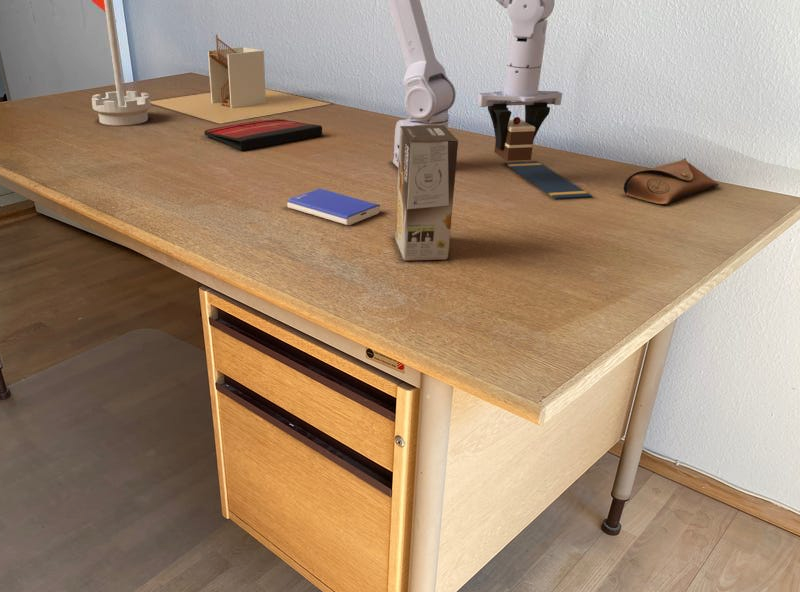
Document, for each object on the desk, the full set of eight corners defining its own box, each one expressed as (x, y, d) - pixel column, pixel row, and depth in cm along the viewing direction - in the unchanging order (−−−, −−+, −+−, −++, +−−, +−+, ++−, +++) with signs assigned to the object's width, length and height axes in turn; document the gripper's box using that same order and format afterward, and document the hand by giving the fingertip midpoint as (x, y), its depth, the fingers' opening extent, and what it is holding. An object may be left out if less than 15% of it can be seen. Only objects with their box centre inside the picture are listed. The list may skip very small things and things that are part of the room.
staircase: (211, 103, 191) (205, 33, 182) (245, 97, 197) (242, 29, 189) (231, 108, 185) (226, 36, 177) (265, 102, 192) (263, 33, 183)
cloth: (555, 199, 124) (555, 197, 124) (504, 164, 142) (505, 162, 142) (591, 197, 125) (591, 195, 125) (536, 162, 144) (536, 160, 143)
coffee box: (449, 260, 100) (460, 140, 92) (403, 261, 100) (409, 141, 92) (436, 236, 108) (445, 123, 100) (392, 237, 108) (398, 124, 100)
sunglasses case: (668, 204, 120) (657, 164, 120) (630, 216, 126) (619, 178, 125) (722, 184, 130) (711, 147, 130) (684, 196, 136) (674, 161, 135)
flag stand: (164, 118, 175) (148, -25, 160) (122, 129, 165) (102, -23, 150) (124, 111, 181) (106, -27, 166) (82, 121, 171) (59, -25, 156)
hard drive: (287, 199, 118) (347, 216, 111) (321, 187, 123) (380, 203, 116) (287, 208, 119) (346, 226, 112) (321, 196, 124) (379, 213, 117)
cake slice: (507, 161, 128) (512, 121, 125) (494, 152, 133) (498, 113, 130) (530, 160, 129) (536, 120, 125) (517, 151, 134) (522, 112, 130)
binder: (322, 124, 159) (240, 139, 148) (322, 135, 161) (241, 151, 149) (278, 115, 170) (199, 128, 159) (279, 125, 172) (200, 139, 160)
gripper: (491, 70, 119) (482, 155, 125) (575, 68, 121) (561, 152, 128) (476, 63, 125) (467, 145, 131) (556, 62, 127) (544, 142, 134)
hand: (513, 147), depth 130 cm, fingers closed on cake slice, 4 cm apart
